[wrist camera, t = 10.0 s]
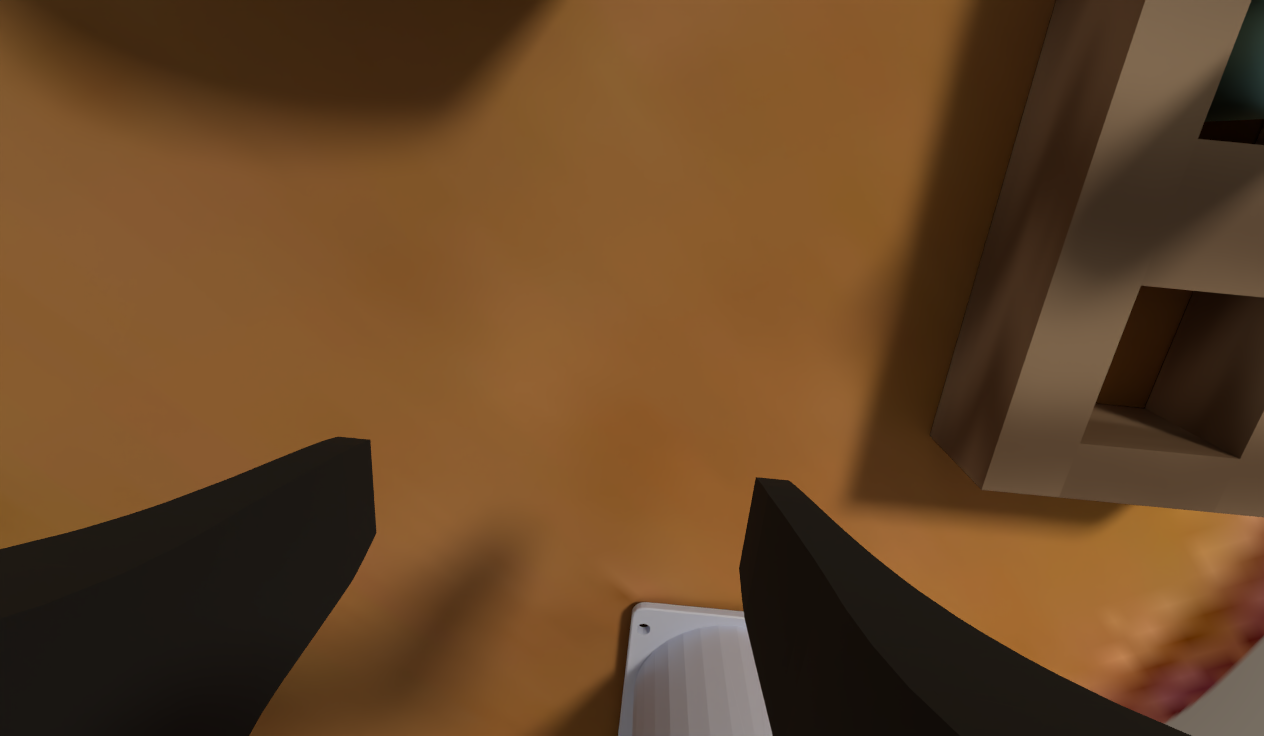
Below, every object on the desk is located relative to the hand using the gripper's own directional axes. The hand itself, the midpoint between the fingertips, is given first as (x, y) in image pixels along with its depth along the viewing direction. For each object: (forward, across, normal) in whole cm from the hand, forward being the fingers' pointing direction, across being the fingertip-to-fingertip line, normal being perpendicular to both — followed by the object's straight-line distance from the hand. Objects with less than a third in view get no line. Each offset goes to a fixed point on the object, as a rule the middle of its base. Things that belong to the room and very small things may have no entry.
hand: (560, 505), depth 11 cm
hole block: (+9, -16, -6) cm, 20 cm away
